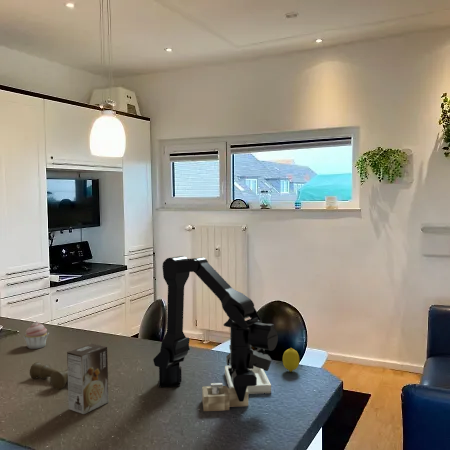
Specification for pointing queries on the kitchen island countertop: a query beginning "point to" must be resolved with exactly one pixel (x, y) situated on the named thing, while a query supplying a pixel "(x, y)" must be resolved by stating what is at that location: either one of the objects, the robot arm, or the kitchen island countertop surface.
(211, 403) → the birch collar
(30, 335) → the cupcake
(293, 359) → the lemon
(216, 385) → the t stake
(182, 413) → the kitchen island countertop surface
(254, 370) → the tray
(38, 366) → the olive brown dumbbell-shaped piece
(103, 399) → the food box
